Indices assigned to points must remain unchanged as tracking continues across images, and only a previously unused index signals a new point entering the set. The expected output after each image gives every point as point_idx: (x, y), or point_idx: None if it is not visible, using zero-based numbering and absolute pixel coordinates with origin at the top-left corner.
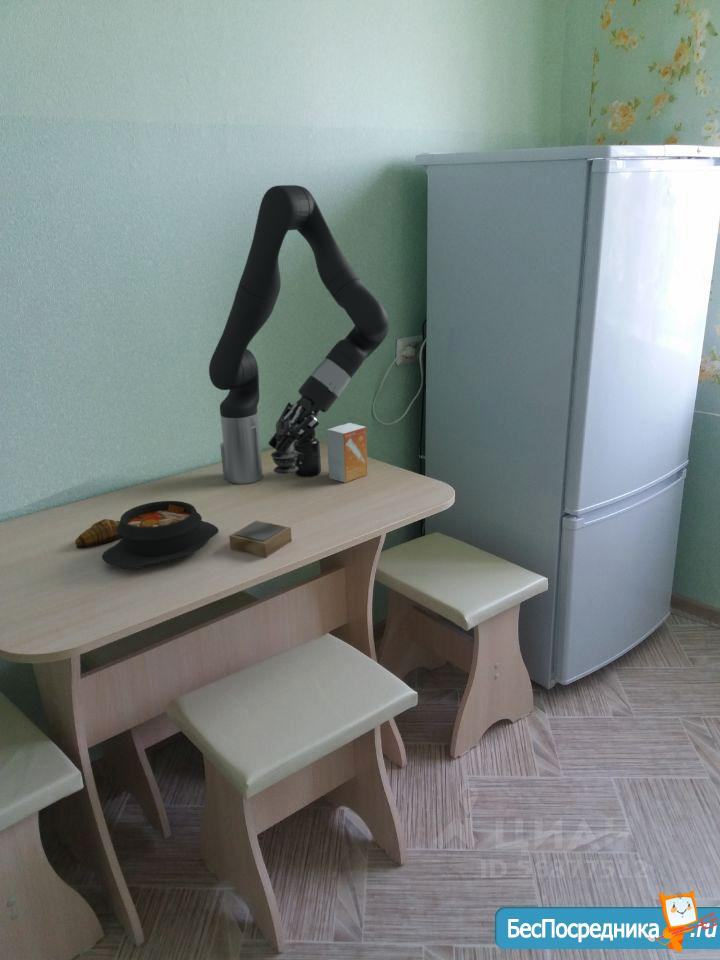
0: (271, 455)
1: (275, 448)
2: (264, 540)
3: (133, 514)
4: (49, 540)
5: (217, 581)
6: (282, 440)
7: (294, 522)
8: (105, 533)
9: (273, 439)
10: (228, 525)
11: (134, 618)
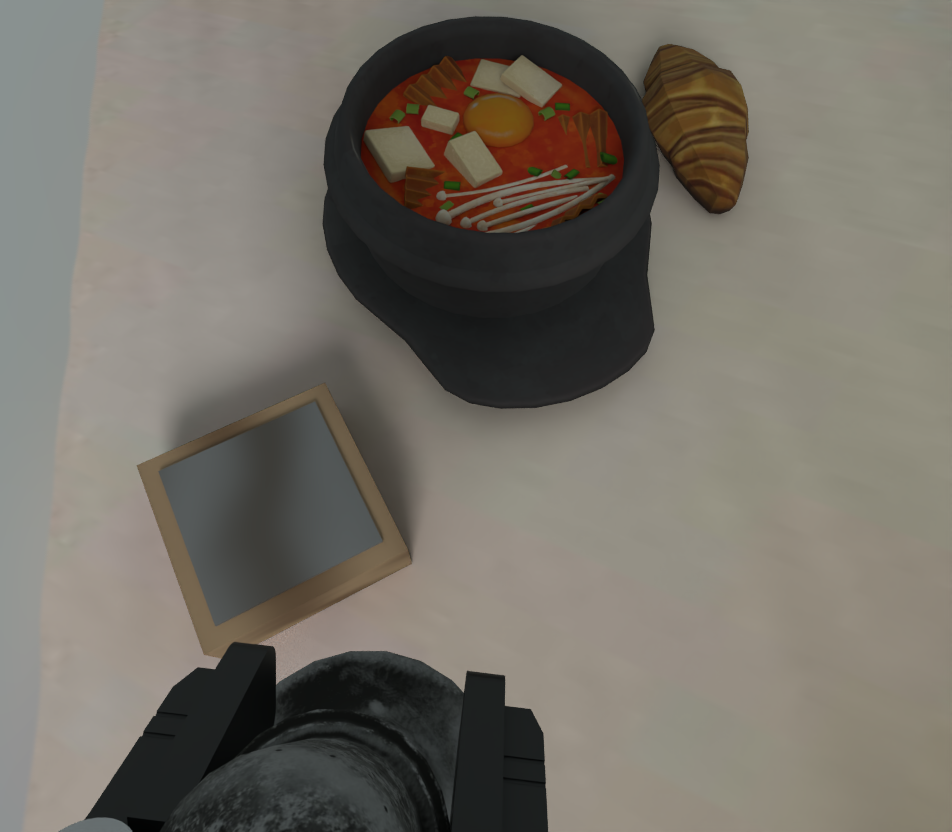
0: (402, 657)
1: (261, 645)
2: (158, 473)
3: (600, 88)
4: (766, 32)
5: (132, 279)
6: (174, 737)
7: None
8: (652, 93)
9: (461, 731)
10: (575, 498)
11: (116, 62)
